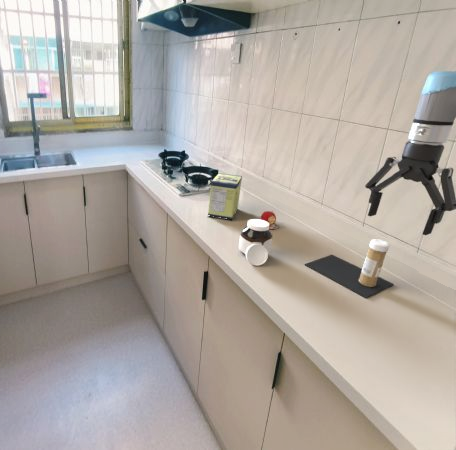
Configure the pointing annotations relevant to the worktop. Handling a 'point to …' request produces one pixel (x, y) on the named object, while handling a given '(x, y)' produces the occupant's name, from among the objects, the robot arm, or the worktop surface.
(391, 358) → the worktop surface
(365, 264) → the spice jar
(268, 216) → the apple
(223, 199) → the protein box
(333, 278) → the mat
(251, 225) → the spread jar
